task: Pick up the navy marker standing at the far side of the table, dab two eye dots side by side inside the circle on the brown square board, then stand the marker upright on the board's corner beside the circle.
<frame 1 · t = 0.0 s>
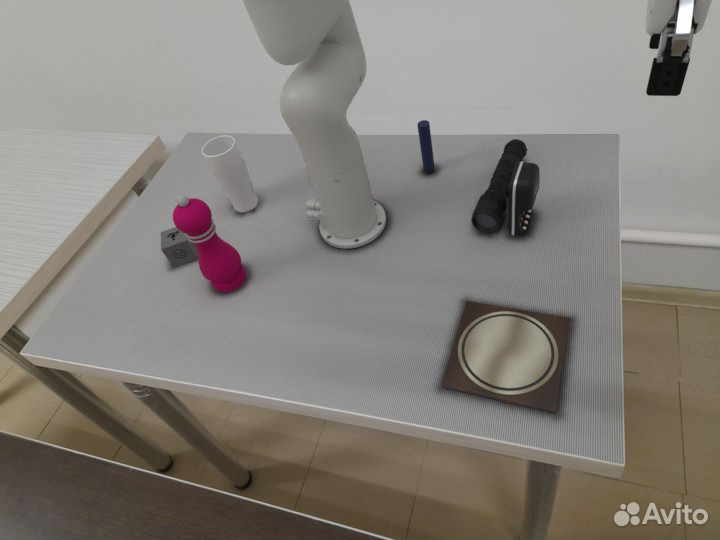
hand: (663, 69, 58), 31 cm above the table, tool pointing down, fingers open, 9 cm apart
drinking glass: (247, 205, 109), on the table
battery charger: (523, 224, 90), on the table
grey toy cube: (185, 254, 102), on the table
brown square board: (506, 353, 74), on the table
pepper mill: (230, 280, 95), on the table
flashlight: (501, 194, 96), on the table
marker: (429, 170, 104), on the table
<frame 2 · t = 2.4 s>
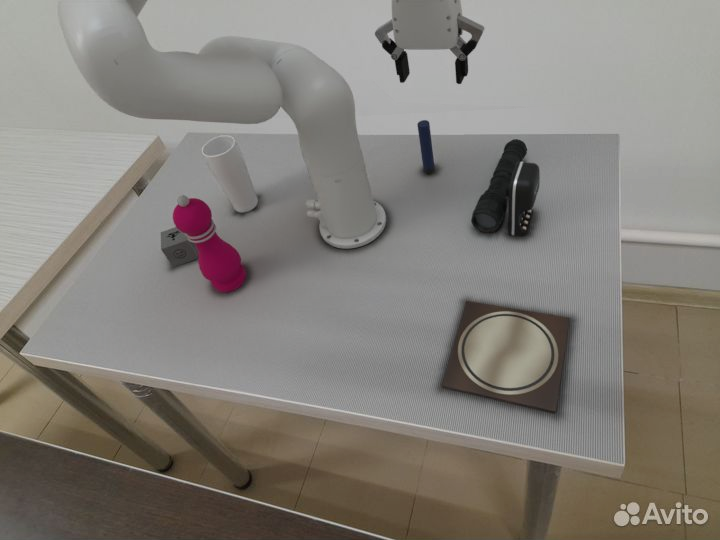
hand: (432, 79, 87), 21 cm above the table, tool pointing down, fingers open, 9 cm apart
nothing on the table moved.
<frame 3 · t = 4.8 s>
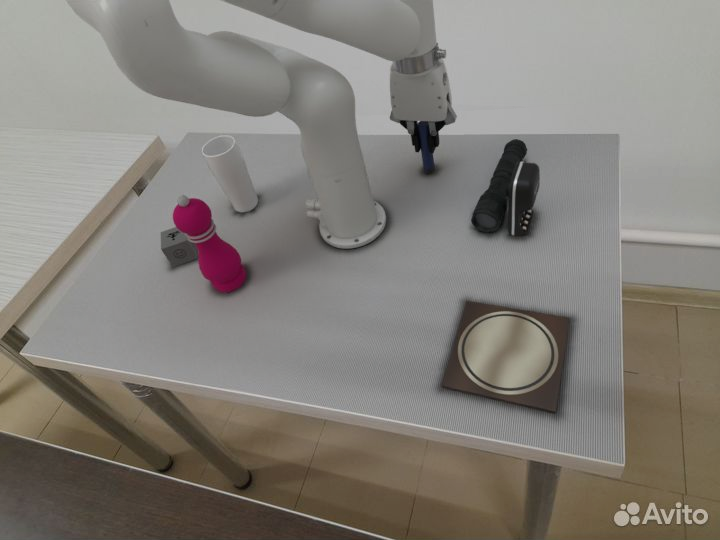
hand: (426, 147, 100), 6 cm above the table, tool pointing down, fingers closed on marker, 2 cm apart
marker: (429, 170, 104), on the table, touching gripper
everything else where it was.
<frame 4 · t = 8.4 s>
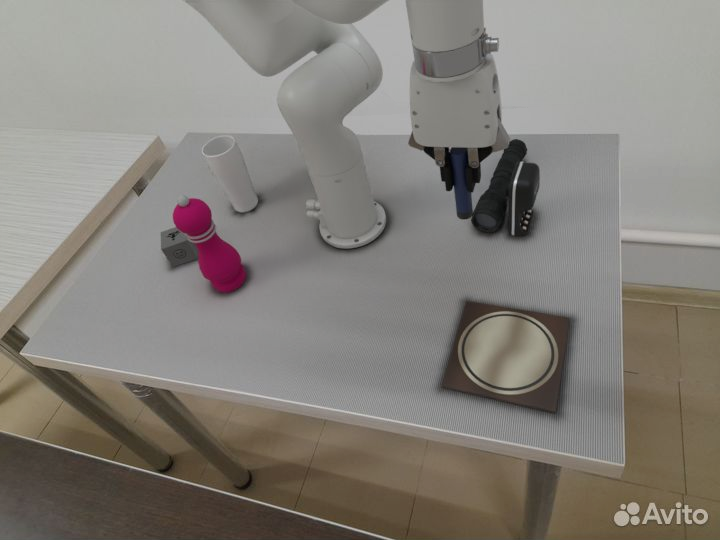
hand: (461, 184, 69), 20 cm above the table, tool pointing down, fingers closed on marker
marker: (464, 214, 73), point 15 cm above the table, touching gripper
everything else where it was.
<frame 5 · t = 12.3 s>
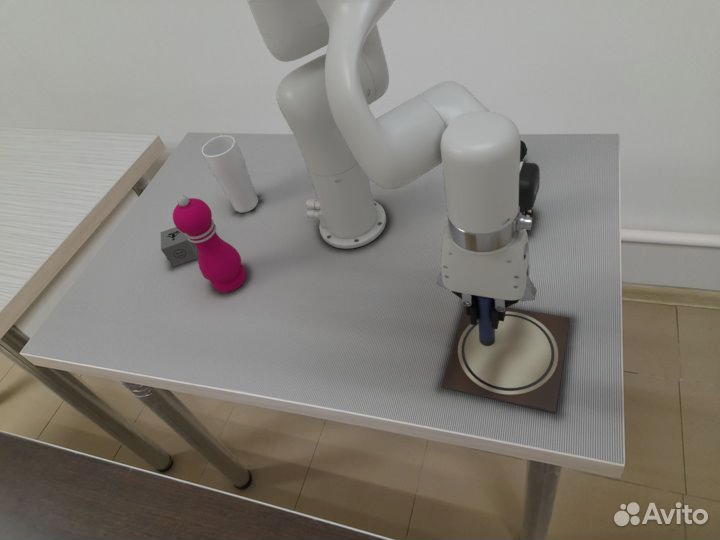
hand: (486, 317, 71), 6 cm above the table, tool pointing down, fingers closed on marker, 2 cm apart
marker: (487, 339, 75), point 1 cm above the table, touching brown square board, gripper
everything else where it was.
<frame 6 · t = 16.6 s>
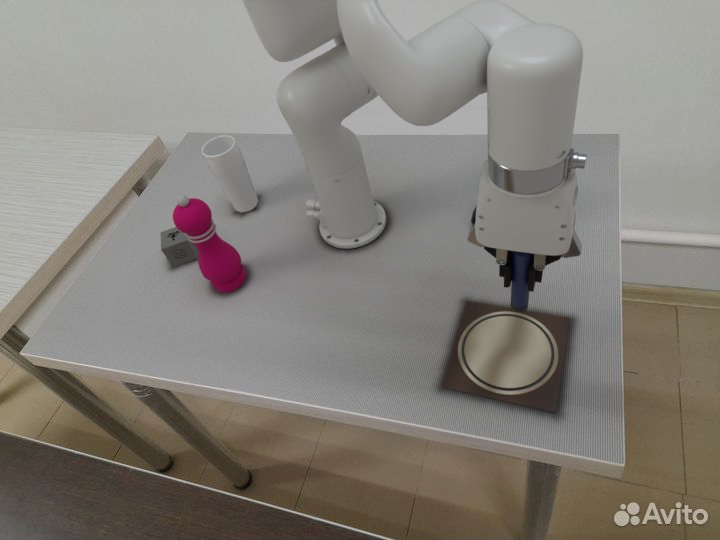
hand: (520, 279, 64), 14 cm above the table, tool pointing down, fingers closed on marker
marker: (519, 305, 68), point 9 cm above the table, touching gripper
everything else where it was.
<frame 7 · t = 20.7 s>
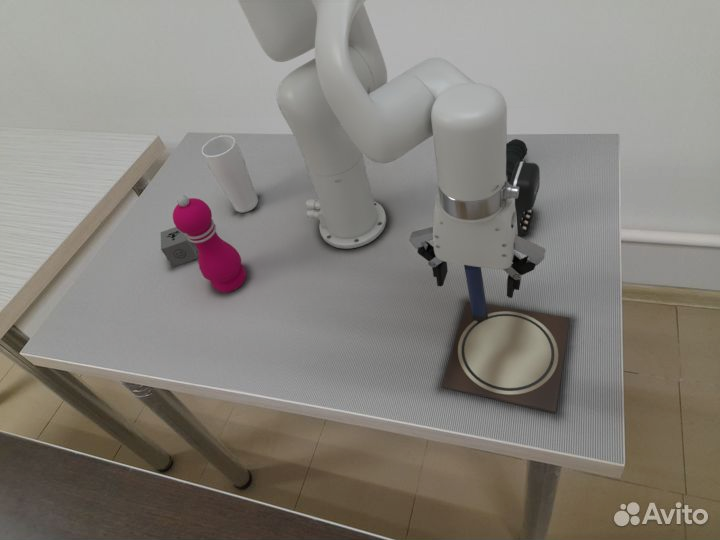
hand: (476, 284, 73), 8 cm above the table, tool pointing down, fingers open, 9 cm apart
marker: (480, 316, 78), point 1 cm above the table, tilted 6°, touching brown square board
everything else where it was.
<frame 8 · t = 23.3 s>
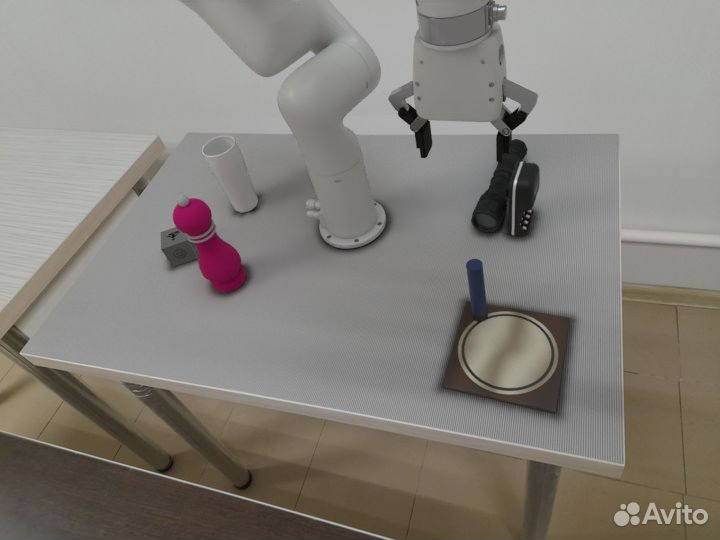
hand: (463, 153, 67), 24 cm above the table, tool pointing down, fingers open, 9 cm apart
nothing on the table moved.
at the end: marker 0.3 cm from the target spot on the brown square board, point 0.7 cm above the brown square board's base; marker tilted 5°; the gripper is holding nothing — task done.
